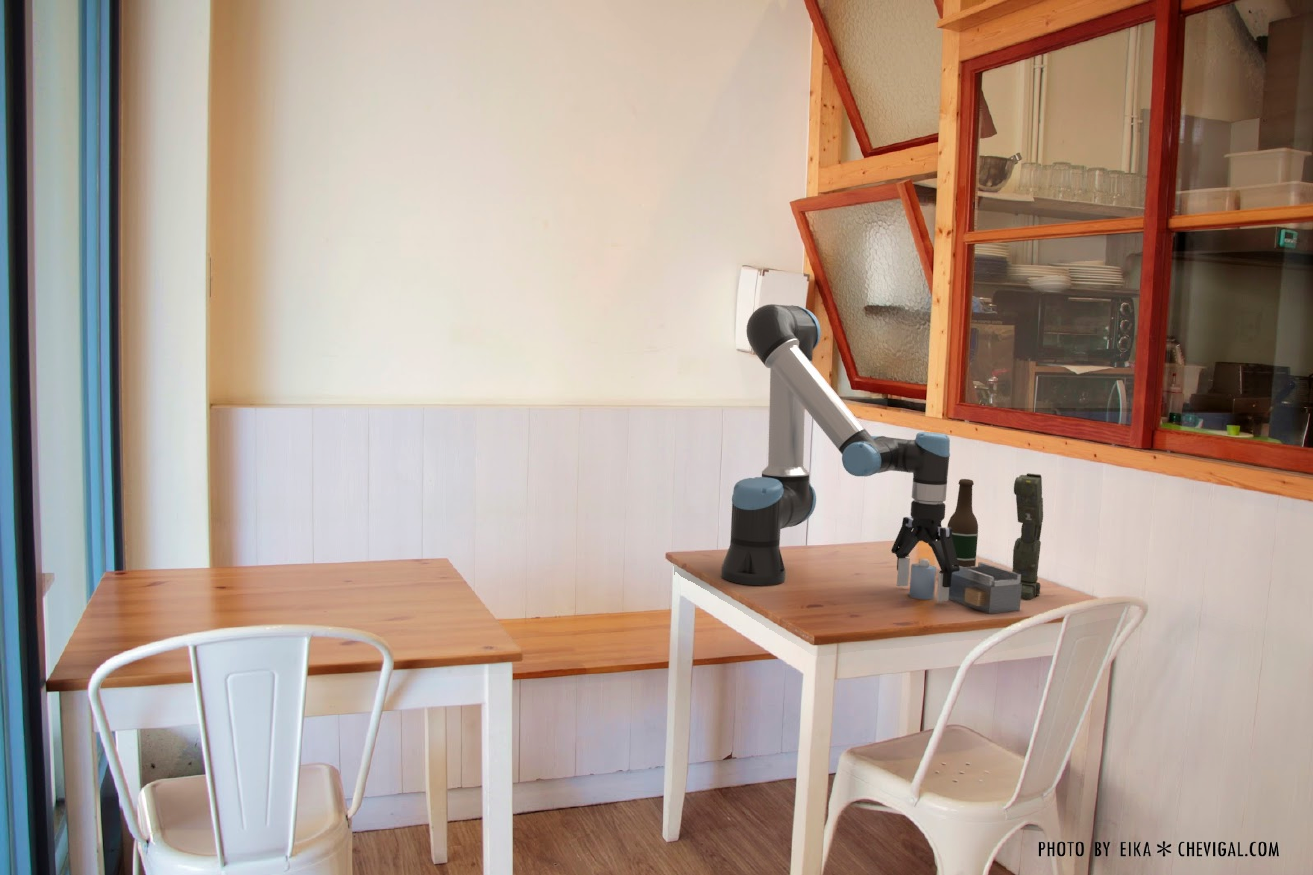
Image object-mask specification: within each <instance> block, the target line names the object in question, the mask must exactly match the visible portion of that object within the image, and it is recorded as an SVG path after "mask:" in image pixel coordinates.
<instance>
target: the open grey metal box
mask: <svg viewBox="0 0 1313 875" xmlns="http://www.w3.org/2000/svg"><path fill="white" fill-rule="evenodd" d="M977 563H978V564H977V565H975V566H972V567H962V566H959V568H960V570H959V571H956V572H953V573H952V577H951V586H950V587H949V596H948V600H950V601H953V602H956V603H959V604H961V605H964V606H966V607H969V608H972V609H974V610H977V611H980V612H982V613H985V614H989V615H992V614H1000V613H1001V614H1002V613H1007V612H1008V613H1009V612H1017V611H1018V612H1019V611H1021V600H1022V599H1021V590H1022V584H1021V583H1020V581H1021V574H1018V573H1015V572H1012V571H1011V570H1009V569H1005V568H1002V567H999V566H997V565H996V566H995V565H993V564H989V563H986V562H983V561H980V562H979V561H978V562H977ZM952 566H953V565H952Z"/></svg>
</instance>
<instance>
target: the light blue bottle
mask: <svg viewBox="0 0 1313 875" xmlns="http://www.w3.org/2000/svg"><path fill="white" fill-rule="evenodd" d="M936 575H937V567H936V566H935V565H933V564H930V559H927V558H919V559H918V563H912V564H911V567H910V577H909V579H910V582H909V594H908V596H909V597H910V598H911V599H912V598H913V599H917V600H922V601H923V600H925V601H926V600H927V601H929V600H934V599H935V589H936V588H935V587H936Z"/></svg>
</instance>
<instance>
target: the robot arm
mask: <svg viewBox="0 0 1313 875" xmlns="http://www.w3.org/2000/svg"><path fill="white" fill-rule="evenodd" d="M821 330H822V329H821V325H820V322H819V320H818V317H817V316H816V315H815V314H814V313H813V312H812V311H810V310H809V309H807V308H804V307H801V306H799V305H793V304H791V305H784V304H783V305H782V304H772V303H771V304H766V305H762V306H760V307H758V308H757V309H755V310H754V312H753V313H752V314H751V315H750V316H749V319H748V321H747V325H746V331H745V332H746V337H747V341H748V343H749V345H750V347H751V349H752V351H753V352H754V354H755V355H756V356H757V358H758V359H759V360H760V361H761V362H762V364H763V365H764V366H765V367H766V368H767V369H770V372H769V375H770V377H769V412H768V413H769V416H768V418H769V420H768V454H767V456H768V458H767V459H768V462H767V466H766V467H765V468H764V469H763V470H762V471H761V476H757V477H747V478H743V479H740V480H739V481H737V482H736V483H735V484H734V486H733V491H732V497H731V523H730V524H731V525H730V541H729V547H728V550H727V551H726V555H725V558H724V560H723V563H722V566H721V571H720V572H721V574H720V576H721V578H722V579H723V580H726V581H728V582H731V583H734V584H740V585H747V586H775V585H779V584H782V583H784V582H785V580H786V569H785V564H784V560H783V557H782V552H781V548H780V543H781V530H782V529H786V528H791V527H796V526H798V525H800V524H802V523H804V522H806V521H807V520H808V519H809V518H810V517H811V516H812V514H813V513H814V511H815V508H816V504H817V495H816V490H815V488H814V487H813V486H812V485H811V483H810V472H809V471H808V470H807V469H806V468H805V467H804V453H805V452H804V448H805V416H806V415H805V412H806V411H807V413H808V414H809V415H810V417H812V419H813V420H814V421H815V423H816V424H817V425H818V426H819V428H820V429H821V431H823V432H824V433H825V435H826V436H827V437H828V438H829V440H830V441H831V443H832V444H833V445H834V446H835V447H836V449H837V450H838V451H839V452H840V454H841V455H842V456H841V462H842V466H843V468H844V470H846V472H847V473H849V475H852V476H854V477H871V476H873V475H876V474H880V473H885V472H890V471H893V472H903V473H908V474H910V473H912V474H913V475H912V486H911V499H913V500H912V501H911V502H910V516H904V517H902V523H901V527H900V529H899V531H898V534H897V536H896V538H895V541H894V543H893V545H892V548H891V553H892V554H894V555H896V557H897V560H896V570H897V578H896V587H908V586H909V579H910V577H909V575H910V562H911V561H910V560H911V558H910V553H911V552H912V550H914V549H915V547H916V546H917V545H918V543H919V542H923V543H924V544H928V547H930V548H931V550H932V552H933V554H934V556H935V559H936V561H937V564H938V566H939V568H940V570H939V571H938V574H937V587H936V588H937V590H936V601H937V602H946V601H947V602H948V601H949V599H948V596H949V587H950V586H951V577H952V573H953V572H956V571H959V570H960V568H959V564H958V560H957V556H956V552H955V548H954V544H953V540H952V528H951V527H947V526H946V527H943V526H942V522H943V520H944V519H945V516H946V507H947V506H946V504H945V503H944V502H945V501H946V500H947V491H948V489H947V488H948V487H947V486H948V477H949V476H948V475H949V464H950V456H951V453H950V445H951V444H950V441H951V440H950V436H948V434H946V433H940V432H931V431H930V432H929V431H928V432H927V431H920V432H918V433H916V436H915V439H907V438H906V439H905V438H898V437H888V436H885V435H879V436H878V435H877V436H876V435H871V434H870V433H869V432H868V431H867V430H866V427H864V425H863V424H862V423H861V422H860V421H859V419H857V417H856V416H855V414H854V413H853V412H852V411H851V409H849V407H848V406H847V404H845V402H844V401H843V400H842V399H841V397H840V396H839V395H838V394H837V393H836V391H835V389H833V387H832V386H831V385H830V384H829V382H827V380H826V379H825V378H824V376H822V374H821V373H820V372H819V370H818V369H817V368H816V367H815V366H814V364H813V363H812V362H813V352H814V349H815V348H816V347H817V346H818V345H819V343H820V340H821V334H822V332H821ZM952 565H953V566H952ZM946 566H947V567H946Z"/></svg>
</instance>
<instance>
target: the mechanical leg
mask: <svg viewBox="0 0 1313 875" xmlns="http://www.w3.org/2000/svg"><path fill="white" fill-rule="evenodd" d="M1042 479H1043V478H1042V475H1041V474H1038V473H1037V474H1036V473H1028V472H1027V473H1026V474H1020V475H1019V477H1016V478H1015V480H1014V484H1013V494H1014V495H1015V500H1016V501H1015V502H1016V503H1015V504H1016V514H1017V522H1018V523H1019V524H1020V523H1021V528H1020V529H1021V530H1020V533H1021V534H1020V535H1021V536H1020V537H1018V538H1016V539H1015V541H1014V545H1013V549H1012V551H1013V553H1012V572H1015V573H1018V574H1021V581H1020V583H1021V584H1022V590H1021V600H1022V599H1023V600H1027V601H1030V600H1032V599H1034V598H1035V597H1036V596H1039V595H1040V593H1041V583H1040V582H1038V580H1039V578H1038V577H1039V576H1038V572H1039V562H1040V553H1041V544H1042V541H1041V534H1042V527H1043V526H1042V525H1043V521H1044V500H1043V499H1044V498H1043V484H1042V483H1043V482H1042V481H1043V480H1042Z"/></svg>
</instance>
